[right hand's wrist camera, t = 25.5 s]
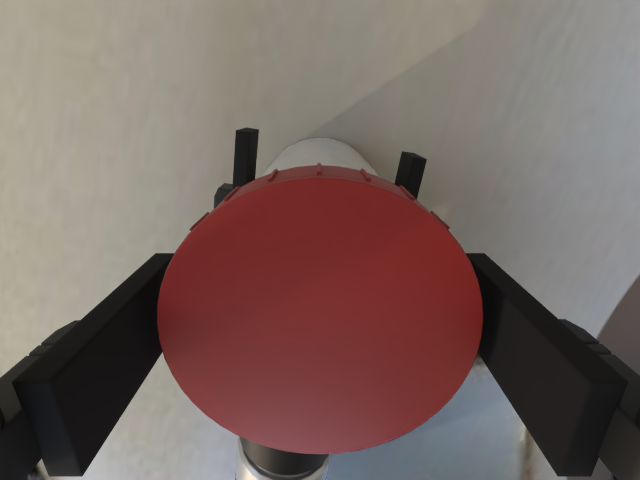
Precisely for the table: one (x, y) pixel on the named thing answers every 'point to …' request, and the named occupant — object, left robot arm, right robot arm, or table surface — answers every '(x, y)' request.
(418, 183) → the left robot arm
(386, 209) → the lid
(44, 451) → the right robot arm
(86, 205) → the table surface
